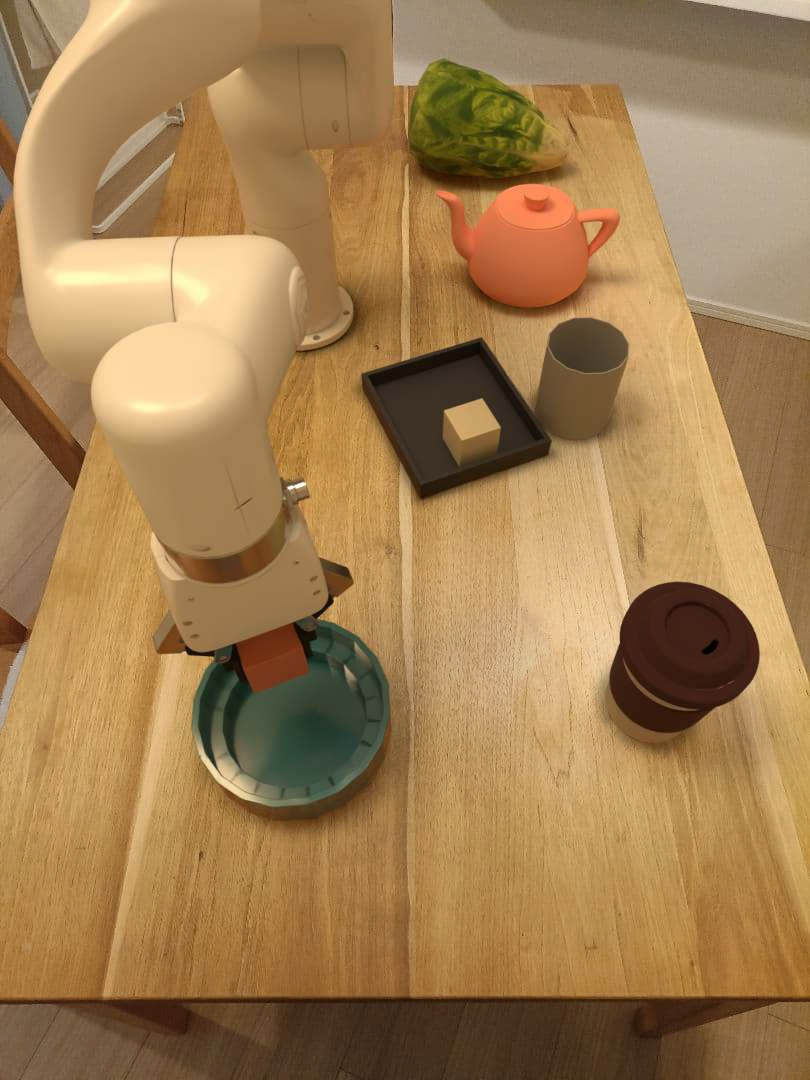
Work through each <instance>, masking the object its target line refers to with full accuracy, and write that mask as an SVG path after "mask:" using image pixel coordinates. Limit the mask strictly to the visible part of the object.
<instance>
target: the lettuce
mask: <svg viewBox="0 0 810 1080" xmlns="http://www.w3.org/2000/svg"><path fill="white" fill-rule="evenodd" d="M407 129H408V130H407V140H408V147H409V153H410V154H411V155H412V157H413V158H414V159H415V161H416V162H417V163H418V164H419V165H420V166H422V167H425V168H427V169H428V170H430V171H432V172H434V173H440V174H444V175H448V176H449V175H450V176H467V177H474V178H485V179H501V178H502V179H503V178H512V177H519V176H523V175H527V174H531V173H536V172H542V171H549V170H552V169H555V168H557V167H560V166H562V165H564V163H565V162H566V160H567V158H568V157H569V155H570V141H569V140H568V138H567V137H566V136H565V135H564V133H563V132H562V131H561V130H560V129H559V128H558V127H557V126H556V125H555V124H554V123H553V122H552V121H551V120H549V119H548V117H547V116H546V115H545V114H544V113H543V112H542V110H541V109H540V108H539V107H538V106H537V105H536V104H535V103H533V101H531V100H530V99H529V98H528V97H526V96H524V95H523V94H521V93H520V92H518V91H517V90H515V89H514V88H511V87H510V86H508V85H507V84H506V83H503V82H502V81H501V80H499V79H497V77H495V76H493V75H491V74H489V73H486V72H484V71H482V70H479V69H477V68H472V67H469V66H466V65H462V64H459V63H456V62H454V61H451V60H449V59H447V58H441V59H438V60H435V61H433V62H431V63H428V65H427V67H426V68H425V70H424V72H423V73H422V75H421V77H420V78H419V81H418V83H417V87H416V90H415V92H414V96H413V99H412V102H411V104H410V110H409V119H408V128H407Z"/></svg>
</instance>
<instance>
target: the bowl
mask: <svg viewBox="0 0 810 1080" xmlns="http://www.w3.org/2000/svg"><path fill="white" fill-rule="evenodd" d="M317 621H318V624H319V625H318V627H317V628H316V629H315V632H316V636H317V639H316V640H314V641H311V642H310V645H311V649H312V653H313V657H311V658H308V659H307V657H306V661H307V664H308V668H309V671H310V673H308V674H305V675H303V676H300V677H297V678H295V679H292V680H289V681H287V682H284V683H281V684H279V685H276V686H274V687H271V688H268V689H266V690H263V691H260V692H258V693H254V692H253V690H252V688H251V685H250V683H249V681H248V679H247V681H246V682H244V683H240V681H239V679H238V677H237V675H236V673H235V671H234V670H233V671H230V672H227V673H226V671H225V669H224V667H223V665H222V663H220V664H218V663H215V661H214V659H212V661H211V662H210V663H209V665H207V667H206V668H205V670H204V673H203V674H202V676H201V678H200V681H199V684H198V686H197V688H196V691H195V694H194V695H193V701H192V712H191V713H192V714H191V725H190V729H191V733H192V737H193V740H194V744H195V748H196V751H197V755H198V758H199V760H200V761H201V763H202V764H203V765H204V767H205V768H206V770H207V771H208V772H209V774H210V775H211V777H212V778H213V779H214V781H215V782H216V784H217V785H218V786H219V788H221V790H222V791H223V792H224V794H225V795H226V796H227V798H229V799H231V800H232V801H233V802H234V803H236V804H238V805H239V806H240V807H242V808H244V809H245V810H246V811H248V812H249V813H251V814H254V815H255V816H256V815H257V816H261V817H265V818H268V819H273V820H276V821H280V822H290V821H301V820H303V821H304V820H314V819H316V818H319V817H321V816H323V815H326V814H329V813H331V812H333V811H335V810H338V809H340V808H343V807H344V806H346V805H347V804H348V803H349V802H351V801H352V800H353V799H354V798H355V797H356V796H358V795H359V794H360V793H361V792H362V791H364V790H365V789H366V788H367V787H368V786H369V785H370V783H371V782H372V780H373V778H374V777H375V775H376V774H377V773H378V770H379V769H380V768H381V766H382V765H383V763H384V761H385V759H386V756H387V752H388V748H389V743H390V740H391V735H392V732H393V727H392V714H391V700H390V687H389V686H390V685H389V681H388V679H387V676H386V675H385V671H384V670H383V667H382V665H381V663H380V661H379V658H378V656H377V655H376V653H374V652H373V651H372V649H370V647H369V646H368V645H367V644H366V643H365V642H364V641H363V639H361V637H359V636H358V635H357V634H355V633H353V632H351V631H350V630H348V629H347V628H344V627H343V626H341V625H338V624H337V623H336V622H332V621H328V620H324V619H320V618H317Z"/></svg>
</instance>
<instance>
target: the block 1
mask: <svg viewBox="0 0 810 1080" xmlns="http://www.w3.org/2000/svg"><path fill="white" fill-rule="evenodd" d="M235 644H236V647H237V650H238V653H239V656H240V659H241V664H242V667H243V670H244V672H245V675H246V677H247V679H248V681H249V683H250V685H251V688H252V690H253V692H254V693H258V692H260V691H263V690H266V689H268V688H271V687H274V686H276V685H279V684H281V683H284V682H287V681H289V680H292V679H295V678H297V677H300V676H303V675H305V674H308V673H310V671H309V668H308V664H307V661H306V657H305V654H304V650H303V647H302V644H301V641H300V639H299V638H298V636H297V633H296V630H295V628H294V625H293V622H292V623H290V624H287V625H284V626H281V627H279V628H276V629H273V630H271V631H268V632H265V633H262V634H260V635H257V636H254V637H251V638H248V639H246V640H243V641H240V642H237V643H235Z"/></svg>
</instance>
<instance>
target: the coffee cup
mask: <svg viewBox="0 0 810 1080" xmlns="http://www.w3.org/2000/svg"><path fill="white" fill-rule="evenodd" d="M760 656H761V651H760V643H759V639H758V636H757V633H756V630H755V628H754V626H753V624H752V623H751V621H750V619H749V618H748V617H747V615H746V614H745V612H744V611H743V610H742V609H741V608H740V607H739V606H738V605H737V604H736V603H735V602H734V601H732V600H731V599H730V598H729V597H727V596H725V595H724V594H722V593H720V592H719V591H717V590H715V589H714V588H711V587H708V586H706V585H703V584H700V583H694V582H691V581H670V582H663V583H660V584H659V583H658V584H656V585H653V586H651V587H649V588H647V589H646V590H644V591H642V592H641V593H640V594H638V595H637V596H636V597H635V598H634V599H633V601H632V602H631V603H630V605H629V606H628V609H627V610H626V612H625V614H624V616H623V618H622V621H621V623H620V629H619V642H618V646H617V649H616V652H615V654H614V658H613V660H612V663H611V666H610V670H609V675H608V676H609V678H608V679H609V680H608V682H607V685H606V688H605V697H604V699H605V706H606V710H607V712H608V715H609V716H610V719H611V720H612V721H613V723H614V724H615V726H616V727H617V728H618V729H619V730H620V731H621V732H623V733H624V734H625V735H627V736H629V737H630V738H632V739H634V740H637V741H640V742H644V743H647V744H649V743H650V744H658V743H662V742H667V741H670V740H672V739H674V738H675V737H677V736H678V735H679V734H680V733H682V732H683V731H685V730H688V729H690V728H692V727H693V726H694V725H696V724H697V723H699V722H700V721H701V720H703V719H704V718H705V717H706V716H707V715H708V714H710V713H711V712H712V711H713V710H715V709H716V708H718V707H721V706H724V705H726V704H729V703H730V702H732V701H734V700H735V699H736V698H737V697H739V696H740V695H741V694H742V693H743V692H744V691H745V690H746V689H747V687H749V685H750V684H751V683H752V682H753V680H754V678H755V677H756V675H757V673H758V669H759V666H760V665H759V664H760V658H761V657H760Z"/></svg>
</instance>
